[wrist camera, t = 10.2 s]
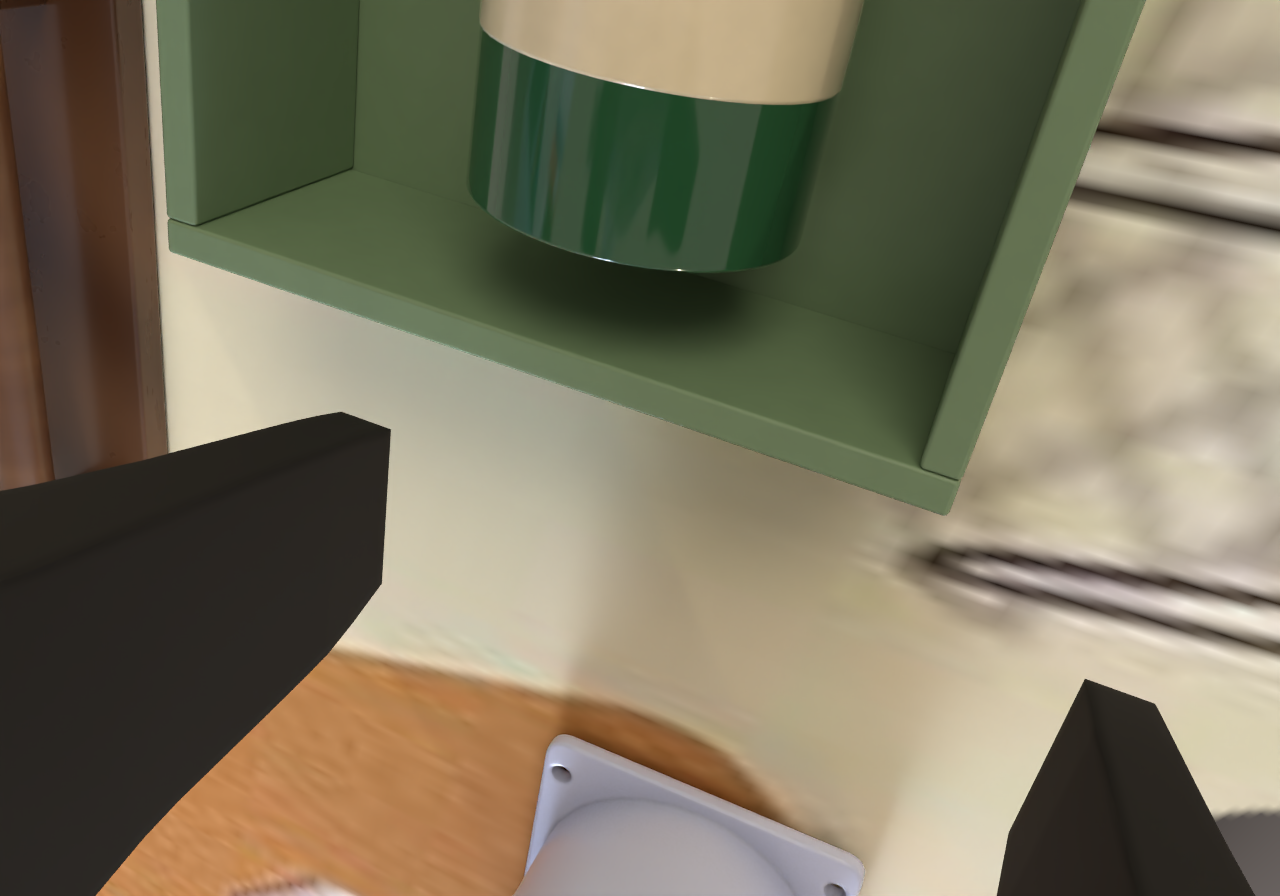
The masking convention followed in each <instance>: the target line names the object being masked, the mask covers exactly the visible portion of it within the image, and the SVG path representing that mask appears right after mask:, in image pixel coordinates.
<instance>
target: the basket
mask: <svg viewBox="0 0 1280 896" xmlns="http://www.w3.org/2000/svg"><path fill="white" fill-rule="evenodd" d="M1145 1H1146V0H866V2H865V6H864V10H863V13H862V17H861V21H860V25H859V29H858V33H857V36H856V40H855V44H854V48H853V52H852V56H851V59H850V63H849V67H848V71H847V75H846V79H845V82H844V86H843V88H842V89H841V91H840V93H839V97H838V101H837V105H836V109H835V112H834V116H833V120H832V124H831V128H830V132H829V136H828V139H827V143H826V147H825V151H824V155H823V159H822V163H821V166H820V170H819V174H818V178H817V182H816V186H815V190H814V193H813V197H812V201H811V205H810V209H809V213H808V216H807V220H806V224H805V228H804V232H803V236H802V240H801V242H800V244H799V246H798V248H797V249H796V250H795V251H794V252H793V253H792V254H791V255H790V256H789V257H787V258H785V259H784V260H782V261H780V262H778V263H775V264H772V265H769V266H766V267H761V268H757V269H753V270H745V271H737V272H722V273H690V272H675V271H664V270H655V269H647V268H640V267H634V266H628V265H622V264H617V263H612V262H608V261H603V260H598V259H594V258H591V257H587V256H583V255H579V254H576V253H572V252H569V251H566V250H563V249H560V248H557V247H554V246H551V245H548V244H545V243H543V242H540V241H538V240H535V239H533V238H530V237H528V236H526V235H524V234H521V233H519V232H517V231H515V230H513V229H511V228H509V227H507V226H506V225H504V224H502V223H500V222H499V221H497V220H495V219H494V218H493V217H491V216H490V215H489V214H487V213H486V212H484V211H483V210H482V209H481V208H480V207H479V206H478V205H477V204H476V203H475V202H474V200H473V199H472V197H471V196H470V194H469V191H468V188H467V185H466V172H467V161H468V150H469V139H470V128H471V117H472V106H473V96H474V85H475V74H476V63H477V52H478V41H479V30H480V23H479V20H478V19H479V6H480V0H156V10H157V29H158V48H159V67H160V86H161V105H162V125H163V144H164V163H165V182H166V201H167V215H168V217H170V219H169V220H168V240H169V250H170V251H171V252H173V253H176V254H179V255H182V256H185V257H187V258H190V259H193V260H196V261H199V262H202V263H205V264H208V265H211V266H214V267H217V268H220V269H223V270H226V271H228V272H231V273H234V274H237V275H240V276H243V277H246V278H249V279H252V280H255V281H258V282H261V283H264V284H267V285H269V286H272V287H275V288H278V289H281V290H284V291H287V292H290V293H293V294H296V295H299V296H302V297H305V298H307V299H310V300H313V301H316V302H319V303H322V304H325V305H328V306H331V307H334V308H337V309H340V310H343V311H346V312H348V313H351V314H354V315H357V316H360V317H363V318H366V319H369V320H372V321H375V322H378V323H381V324H384V325H387V326H389V327H392V328H395V329H398V330H401V331H404V332H407V333H410V334H413V335H416V336H419V337H422V338H425V339H428V340H430V341H433V342H436V343H439V344H442V345H445V346H448V347H451V348H454V349H457V350H460V351H463V352H466V353H469V354H471V355H474V356H477V357H480V358H483V359H486V360H489V361H492V362H495V363H498V364H501V365H504V366H507V367H510V368H512V369H515V370H518V371H521V372H524V373H527V374H530V375H533V376H536V377H539V378H542V379H545V380H548V381H551V382H553V383H556V384H559V385H562V386H565V387H568V388H571V389H574V390H577V391H580V392H583V393H586V394H589V395H592V396H594V397H597V398H600V399H603V400H606V401H609V402H612V403H615V404H618V405H621V406H624V407H627V408H630V409H633V410H635V411H638V412H641V413H644V414H647V415H650V416H653V417H656V418H659V419H662V420H665V421H668V422H671V423H673V424H676V425H679V426H682V427H685V428H688V429H691V430H694V431H697V432H700V433H703V434H706V435H709V436H712V437H714V438H717V439H720V440H723V441H726V442H729V443H732V444H735V445H738V446H741V447H744V448H747V449H750V450H753V451H755V452H758V453H761V454H764V455H767V456H770V457H773V458H776V459H779V460H782V461H785V462H788V463H791V464H794V465H796V466H799V467H802V468H805V469H808V470H811V471H814V472H817V473H820V474H823V475H826V476H829V477H832V478H835V479H837V480H840V481H843V482H846V483H849V484H852V485H855V486H858V487H861V488H864V489H867V490H870V491H873V492H876V493H878V494H881V495H884V496H887V497H890V498H893V499H896V500H899V501H902V502H905V503H908V504H911V505H914V506H917V507H919V508H922V509H925V510H928V511H931V512H934V513H937V514H940V515H947V514H948V513H949V512H950V509H951V507H952V504H953V501H954V499H955V496H956V494H957V491H958V488H959V486H960V482H961V478H962V477H963V475H964V473H965V470H966V468H967V465H968V462H969V460H970V457H971V455H972V452H973V449H974V447H975V444H976V442H977V439H978V436H979V434H980V431H981V429H982V426H983V423H984V421H985V418H986V416H987V413H988V410H989V408H990V405H991V403H992V400H993V397H994V395H995V392H996V390H997V387H998V384H999V382H1000V379H1001V376H1002V374H1003V371H1004V369H1005V366H1006V363H1007V361H1008V358H1009V356H1010V353H1011V350H1012V348H1013V345H1014V343H1015V340H1016V337H1017V335H1018V332H1019V330H1020V327H1021V324H1022V322H1023V319H1024V317H1025V314H1026V311H1027V309H1028V306H1029V304H1030V301H1031V298H1032V296H1033V293H1034V291H1035V288H1036V285H1037V283H1038V280H1039V278H1040V275H1041V272H1042V270H1043V267H1044V264H1045V262H1046V259H1047V257H1048V254H1049V251H1050V249H1051V246H1052V244H1053V241H1054V238H1055V236H1056V233H1057V231H1058V228H1059V225H1060V223H1061V220H1062V218H1063V215H1064V212H1065V210H1066V207H1067V205H1068V202H1069V199H1070V197H1071V194H1072V192H1073V189H1074V186H1075V184H1076V181H1077V179H1078V176H1079V173H1080V171H1081V168H1082V166H1083V163H1084V160H1085V158H1086V155H1087V152H1088V150H1089V147H1090V145H1091V142H1092V139H1093V137H1094V134H1095V132H1096V129H1097V126H1098V124H1099V121H1100V119H1101V116H1102V113H1103V111H1104V108H1105V106H1106V103H1107V100H1108V98H1109V95H1110V93H1111V90H1112V87H1113V85H1114V82H1115V80H1116V77H1117V74H1118V72H1119V69H1120V67H1121V64H1122V61H1123V59H1124V56H1125V54H1126V51H1127V48H1128V46H1129V43H1130V40H1131V38H1132V35H1133V33H1134V30H1135V27H1136V25H1137V22H1138V20H1139V17H1140V14H1141V12H1142V9H1143V7H1144V4H1145Z"/></svg>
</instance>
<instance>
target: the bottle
mask: <svg viewBox="0 0 1280 896" xmlns="http://www.w3.org/2000/svg"><path fill="white" fill-rule="evenodd" d="M865 2H866V0H480V6H479V19H478V20H479V23H480V30H479V41H478V52H477V63H476V74H475V85H474V96H473V106H472V117H471V128H470V139H469V150H468V161H467V172H466V185H467V188H468V191H469V194H470V196H471V197H472V199H473V200H474V202H475V203H476V204H477V205H478V206H479V207H480V208H481V209H482V210H483V211H484V212H486V213H487V214H489V215H490V216H491V217H493V218H494V219H495V220H497V221H499V222H500V223H502V224H504V225H506V226H507V227H509V228H511V229H513V230H515V231H517V232H519V233H521V234H524V235H526V236H528V237H530V238H533V239H535V240H538V241H540V242H543V243H545V244H548V245H551V246H554V247H557V248H560V249H563V250H566V251H569V252H572V253H576V254H579V255H583V256H587V257H591V258H594V259H598V260H603V261H608V262H612V263H617V264H622V265H628V266H634V267H640V268H647V269H655V270H664V271H675V272H690V273H722V272H737V271H745V270H753V269H757V268H761V267H766V266H769V265H772V264H775V263H778V262H780V261H782V260H784V259H785V258H787V257H789V256H790V255H791V254H792V253H793V252H794V251H795V250H796V249H797V248H798V246H799V244H800V242H801V240H802V236H803V232H804V228H805V224H806V220H807V216H808V213H809V209H810V205H811V201H812V197H813V193H814V190H815V186H816V182H817V178H818V174H819V170H820V166H821V163H822V159H823V155H824V151H825V147H826V143H827V139H828V136H829V132H830V128H831V124H832V120H833V116H834V112H835V109H836V105H837V101H838V97H839V93H840V91H841V89H842V88H843V86H844V82H845V79H846V75H847V71H848V67H849V63H850V59H851V56H852V52H853V48H854V44H855V40H856V36H857V33H858V29H859V25H860V21H861V17H862V13H863V10H864V6H865Z"/></svg>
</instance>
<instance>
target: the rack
mask: <svg viewBox="0 0 1280 896" xmlns="http://www.w3.org/2000/svg"><path fill="white" fill-rule="evenodd" d="M165 454H168V449H167V432H166V415H165V398H164V381H163V364H162V347H161V330H160V312H159V295H158V278H157V261H156V244H155V227H154V210H153V193H152V176H151V159H150V142H149V125H148V108H147V91H146V74H145V57H144V40H143V23H142V6H141V0H0V491H2V490H8V489H13V488H19V487H24V486H29V485H34V484H39V483H44V482H48V481H53V480H57V479H62V478H66V477H70V476H75V475H79V474H84V473H88V472H93V471H97V470H102V469H106V468H110V467H115V466H119V465H124V464H128V463H133V462H137V461H142V460H146V459H150V458H154V457H157V456H161V455H165Z"/></svg>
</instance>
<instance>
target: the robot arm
mask: <svg viewBox="0 0 1280 896" xmlns="http://www.w3.org/2000/svg"><path fill="white" fill-rule="evenodd" d="M390 435H391V429H388V428H385V427H382V426H380V425H377V424H374V423H371V422H368V421H366V420H363V419H360V418H357V417H355V416H352V415H349V414H346V413H343V412H338V413H332V414H326V415H320V416H315V417H310V418H306V419H302V420H297V421H293V422H289V423H285V424H281V425H277V426H273V427H269V428H265V429H261V430H257V431H253V432H250V433H246V434H242V435H238V436H234V437H231V438H227V439H223V440H219V441H215V442H211V443H208V444H204V445H200V446H196V447H192V448H188V449H184V450H181V451H177V452H173V453H169V454H165V455H161V456H157V457H154V458H150V459H146V460H142V461H137V462H133V463H128V464H124V465H119V466H115V467H110V468H106V469H102V470H97V471H93V472H88V473H84V474H79V475H75V476H70V477H66V478H62V479H57V480H53V481H48V482H44V483H39V484H34V485H29V486H24V487H19V488H13V489H8V490H2V491H0V896H96V894H97V893H98V892H99V891H100V890H101V888H102V887H103V886H104V885H105V884H106V882H107V881H108V880H109V879H110V878H111V876H112V875H113V874H114V873H115V872H116V870H117V869H118V868H119V867H120V866H121V864H122V863H123V862H124V861H125V860H126V858H127V857H128V856H129V855H130V854H131V853H132V851H133V850H134V849H135V848H136V847H137V845H138V844H139V843H140V842H141V841H142V839H143V838H144V837H145V836H146V835H147V834H148V833H149V832H150V831H151V830H152V829H153V827H154V826H155V825H156V824H157V823H158V822H159V821H160V820H161V819H162V818H163V817H164V816H165V815H166V814H167V813H168V812H169V811H170V809H171V808H172V807H173V806H174V805H175V804H176V803H177V802H178V801H179V800H180V799H181V798H182V797H183V796H184V795H185V794H186V793H187V792H188V791H189V790H190V789H191V788H192V787H193V786H194V785H195V784H196V783H197V782H199V781H200V780H201V779H202V778H203V777H204V776H205V775H206V774H207V773H208V772H209V771H210V770H211V769H212V768H213V767H214V766H215V765H216V764H217V763H218V762H219V761H220V760H221V759H222V758H223V757H224V756H225V755H226V754H227V753H228V752H229V751H230V750H231V749H232V748H233V747H234V746H235V745H236V744H237V743H239V742H240V741H241V740H242V739H243V738H244V737H245V736H246V735H247V734H248V733H249V732H250V731H251V730H252V729H253V728H254V727H255V726H256V725H257V724H258V723H259V722H260V721H261V720H262V719H263V718H264V717H265V716H266V715H267V714H268V713H269V712H270V711H271V710H272V709H273V708H274V707H275V706H276V705H277V704H278V703H279V702H281V701H282V700H283V699H284V698H285V697H286V696H287V695H288V694H289V693H290V692H291V691H292V690H293V689H294V688H295V687H296V686H297V685H298V684H299V683H300V682H301V681H302V680H303V679H304V678H305V677H306V676H307V675H308V674H309V673H310V672H311V671H312V670H313V669H314V668H315V667H316V666H317V665H318V663H319V662H320V661H321V660H322V659H323V658H324V657H325V656H326V655H327V654H328V653H329V652H330V651H331V649H332V648H333V647H334V646H335V644H336V643H337V642H338V641H339V639H340V638H341V637H342V636H343V634H344V633H345V632H346V631H347V629H348V628H349V627H350V625H351V624H352V623H353V622H354V620H355V619H356V618H357V616H358V615H359V614H360V612H361V611H362V609H363V608H364V607H365V605H366V604H367V603H368V601H369V600H370V599H371V597H372V596H373V595H374V593H375V592H376V591H377V589H378V588H379V587H380V585H381V584H382V569H383V553H384V536H385V519H386V502H387V485H388V468H389V452H390ZM561 766H563V767H564V768H566V769H567V770H568V771H566V770H564V769H563V768H562V767H561ZM864 876H865V868H864V866H863V863H862V862H861V861H860V860H859V859H858V858H857V857H856V856H854V855H852V854H851V853H849V852H847V851H844V850H842V849H840V848H837V847H835V846H832V845H830V844H828V843H825V842H823V841H821V840H818V839H816V838H814V837H811V836H809V835H806V834H804V833H802V832H799V831H797V830H795V829H792V828H790V827H787V826H785V825H783V824H780V823H778V822H776V821H773V820H771V819H768V818H766V817H764V816H761V815H759V814H757V813H754V812H752V811H750V810H747V809H745V808H742V807H740V806H738V805H735V804H733V803H731V802H728V801H726V800H723V799H721V798H719V797H716V796H714V795H712V794H709V793H707V792H704V791H702V790H700V789H697V788H695V787H693V786H690V785H688V784H686V783H683V782H681V781H678V780H676V779H674V778H671V777H669V776H667V775H664V774H662V773H659V772H657V771H655V770H652V769H650V768H648V767H645V766H643V765H640V764H638V763H636V762H633V761H631V760H629V759H626V758H624V757H622V756H619V755H617V754H614V753H612V752H610V751H607V750H605V749H603V748H600V747H598V746H595V745H593V744H591V743H588V742H586V741H584V740H581V739H579V738H576V737H574V736H571V735H567V734H562V735H558V736H556V737H555V738H554V739H553V740H552V742H551V743H550V745H549V747H548V749H547V751H546V757H545V762H544V768H543V773H542V779H541V785H540V790H539V796H538V801H537V807H536V813H535V818H534V824H533V829H532V835H531V840H530V846H529V852H528V857H527V863H526V868H525V874H524V878H523V880H522V881H521V883H520V885H519V887H518V888H517V890H516V892H515V893H514V895H513V896H858V894H859V892H860V889H861V887H862V884H863V880H864ZM832 884H836V885H839V886H840V887H842V888H839V887H835V886H834V885H832ZM997 896H1255V894H1254V893H1253V891H1252V889H1251V887H1250V885H1249V884H1248V882H1247V880H1246V878H1245V876H1244V875H1243V873H1242V871H1241V870H1240V867H1239V866H1238V864H1237V862H1236V860H1235V858H1234V857H1233V855H1232V853H1231V851H1230V849H1229V847H1228V845H1227V844H1226V842H1225V840H1224V838H1223V836H1222V834H1221V832H1220V830H1219V828H1218V827H1217V825H1216V823H1215V821H1214V819H1213V817H1212V815H1211V813H1210V811H1209V809H1208V807H1207V805H1206V803H1205V801H1204V799H1203V797H1202V795H1201V793H1200V791H1199V789H1198V787H1197V785H1196V784H1195V782H1194V780H1193V778H1192V776H1191V774H1190V772H1189V770H1188V768H1187V766H1186V764H1185V762H1184V760H1183V758H1182V756H1181V754H1180V752H1179V750H1178V748H1177V746H1176V744H1175V742H1174V740H1173V738H1172V736H1171V734H1170V732H1169V730H1168V728H1167V726H1166V724H1165V722H1164V720H1163V718H1162V716H1161V714H1160V712H1159V710H1158V709H1157V707H1156V705H1155V704H1154V703H1151V702H1148V701H1145V700H1143V699H1140V698H1137V697H1134V696H1132V695H1129V694H1126V693H1123V692H1120V691H1118V690H1115V689H1112V688H1109V687H1107V686H1104V685H1101V684H1098V683H1095V682H1093V681H1090V680H1087V679H1085V680H1084V682H1083V684H1082V686H1081V688H1080V690H1079V692H1078V694H1077V696H1076V698H1075V700H1074V702H1073V704H1072V706H1071V708H1070V710H1069V712H1068V714H1067V716H1066V718H1065V720H1064V722H1063V724H1062V726H1061V728H1060V730H1059V732H1058V735H1057V737H1056V739H1055V741H1054V743H1053V745H1052V747H1051V749H1050V751H1049V753H1048V755H1047V757H1046V759H1045V761H1044V763H1043V765H1042V767H1041V769H1040V771H1039V773H1038V775H1037V777H1036V779H1035V781H1034V783H1033V785H1032V787H1031V789H1030V791H1029V793H1028V795H1027V797H1026V799H1025V801H1024V803H1023V805H1022V807H1021V809H1020V811H1019V813H1018V815H1017V817H1016V819H1015V821H1014V823H1013V825H1012V827H1011V829H1010V831H1009V834H1008V839H1007V844H1006V850H1005V855H1004V860H1003V866H1002V871H1001V876H1000V881H999V887H998V892H997Z"/></svg>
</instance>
